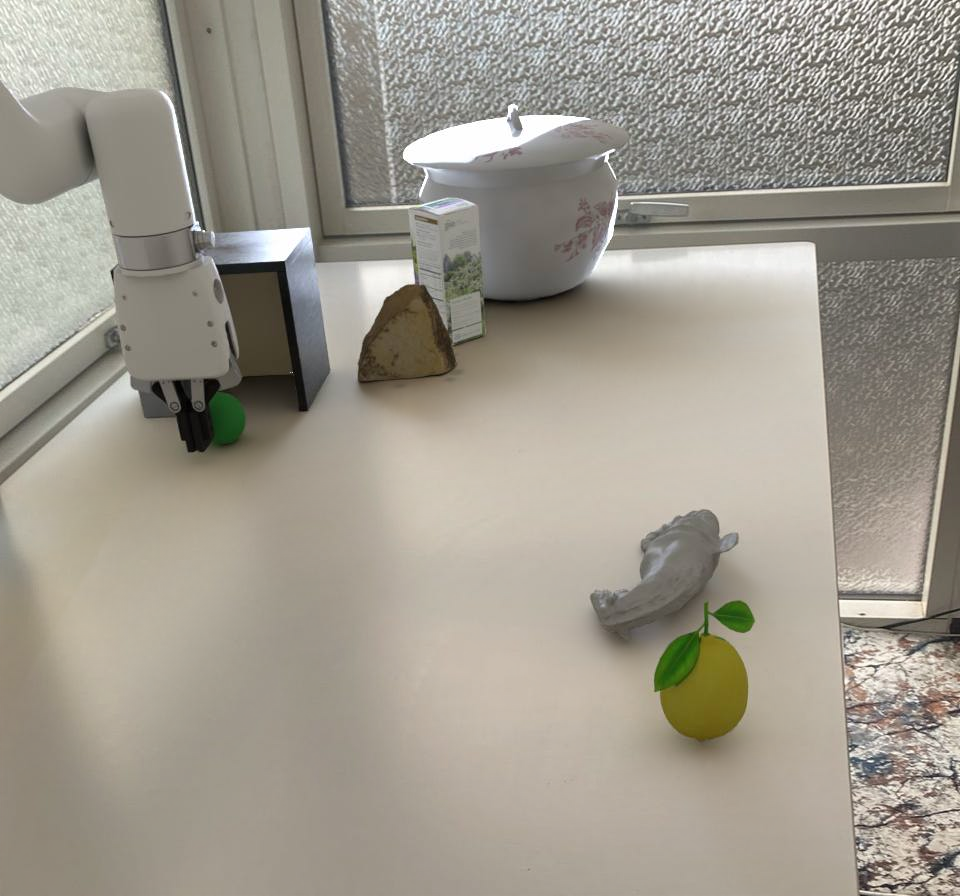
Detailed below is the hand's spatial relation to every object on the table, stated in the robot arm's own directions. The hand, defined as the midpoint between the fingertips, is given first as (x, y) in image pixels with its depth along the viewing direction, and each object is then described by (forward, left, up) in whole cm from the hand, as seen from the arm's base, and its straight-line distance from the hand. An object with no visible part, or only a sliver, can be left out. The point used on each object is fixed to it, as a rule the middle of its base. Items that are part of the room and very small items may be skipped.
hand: (200, 447), depth 131 cm
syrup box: (+21, +35, -2) cm, 41 cm away
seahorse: (+45, -30, -2) cm, 54 cm away
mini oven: (-1, +19, -2) cm, 19 cm away
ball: (+1, +5, +1) cm, 5 cm away
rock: (+17, +23, -2) cm, 29 cm away
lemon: (+47, -51, -2) cm, 69 cm away
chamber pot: (+28, +55, -2) cm, 62 cm away
